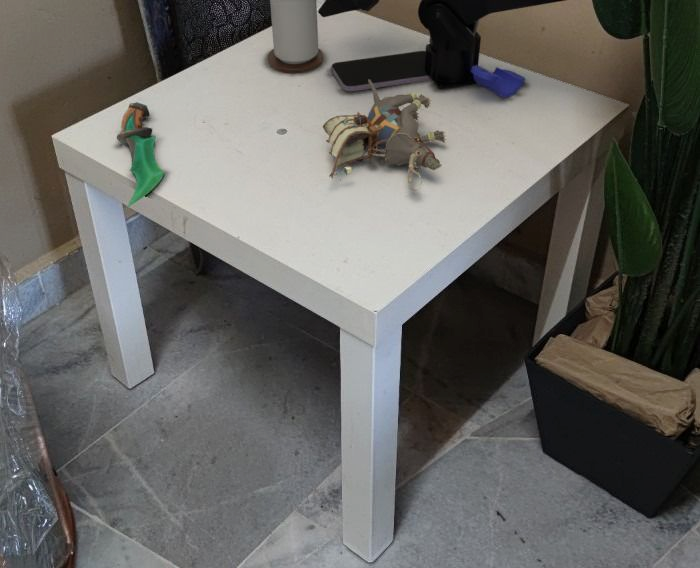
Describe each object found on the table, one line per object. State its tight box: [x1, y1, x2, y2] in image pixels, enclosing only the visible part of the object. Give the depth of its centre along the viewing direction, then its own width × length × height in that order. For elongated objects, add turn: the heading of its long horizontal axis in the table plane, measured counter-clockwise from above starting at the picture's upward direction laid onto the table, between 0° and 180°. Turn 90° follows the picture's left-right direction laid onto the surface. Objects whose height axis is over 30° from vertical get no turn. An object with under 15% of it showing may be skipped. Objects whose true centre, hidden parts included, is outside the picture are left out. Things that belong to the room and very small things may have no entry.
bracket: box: [471, 64, 526, 99], centre depth 124 cm, size 9×5×3 cm, turn 129°
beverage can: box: [269, 0, 319, 64], centre depth 128 cm, size 6×6×12 cm
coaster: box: [267, 48, 324, 74], centre depth 132 cm, size 8×8×1 cm
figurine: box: [322, 79, 447, 194], centre depth 112 cm, size 20×6×17 cm
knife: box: [116, 101, 165, 208], centre depth 113 cm, size 21×2×5 cm
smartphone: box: [330, 50, 432, 92], centre depth 129 cm, size 7×1×15 cm
